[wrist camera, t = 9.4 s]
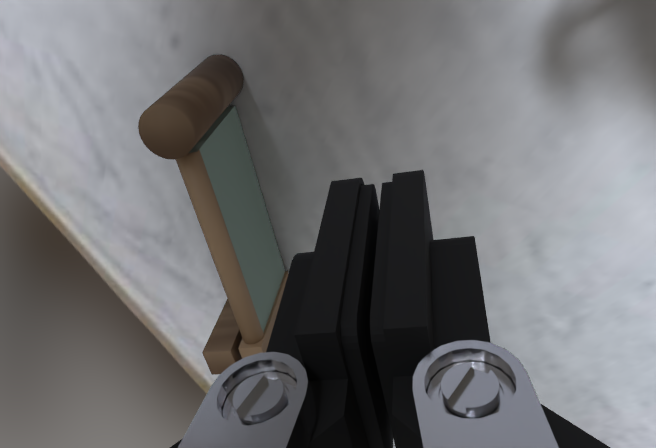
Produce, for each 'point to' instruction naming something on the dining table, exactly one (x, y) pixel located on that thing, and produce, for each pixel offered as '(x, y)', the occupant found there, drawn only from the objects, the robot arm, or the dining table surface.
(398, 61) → the dining table surface
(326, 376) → the robot arm
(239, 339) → the gate posts
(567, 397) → the dining table surface
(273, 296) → the gate
